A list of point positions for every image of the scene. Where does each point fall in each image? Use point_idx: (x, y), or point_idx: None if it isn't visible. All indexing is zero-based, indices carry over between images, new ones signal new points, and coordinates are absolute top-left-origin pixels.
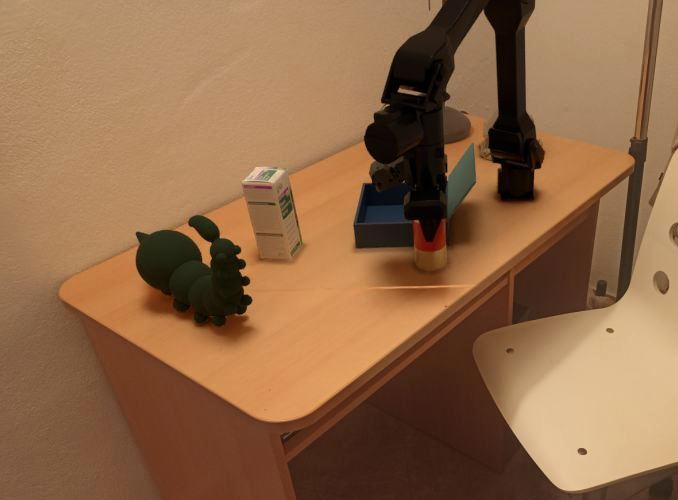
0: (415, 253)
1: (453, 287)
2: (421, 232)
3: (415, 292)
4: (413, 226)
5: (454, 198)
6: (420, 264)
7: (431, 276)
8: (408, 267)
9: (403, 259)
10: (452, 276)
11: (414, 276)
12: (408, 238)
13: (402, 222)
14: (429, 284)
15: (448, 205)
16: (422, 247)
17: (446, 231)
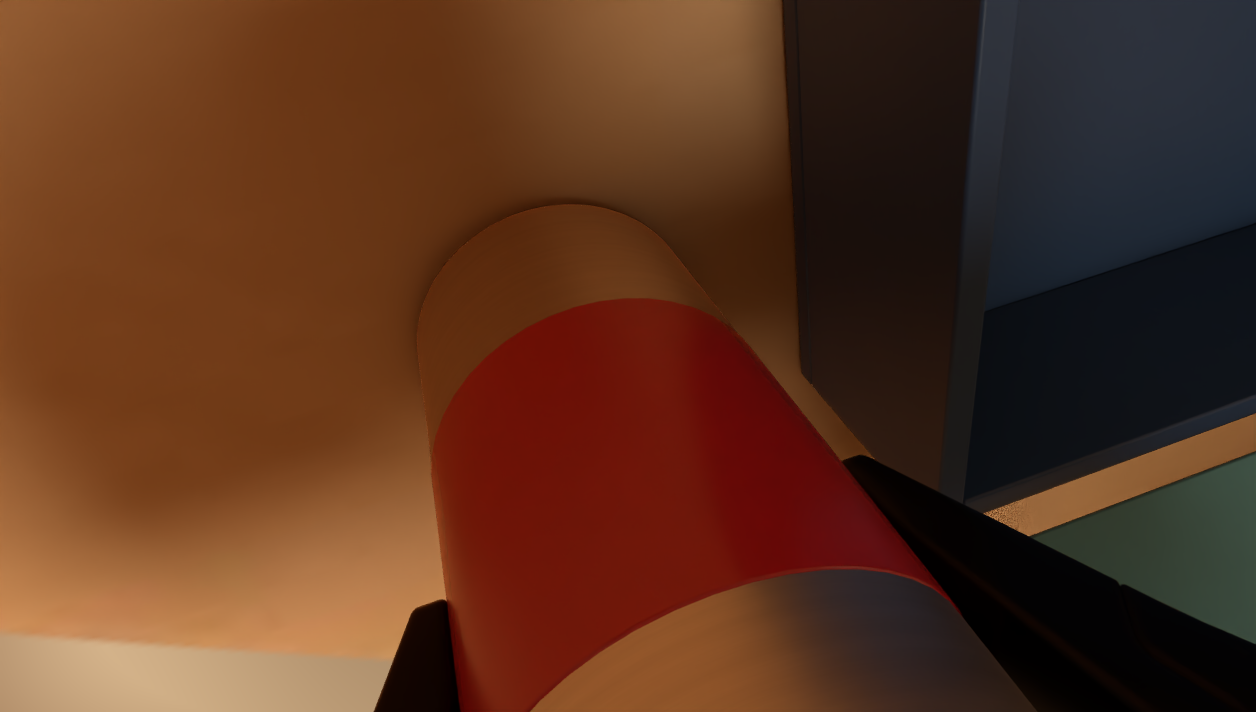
0: (490, 300)
1: (263, 574)
2: (456, 651)
3: (28, 358)
4: (565, 547)
5: (1228, 612)
6: (429, 316)
7: (362, 390)
8: (453, 150)
9: (592, 51)
10: (413, 519)
11: (309, 258)
12: (847, 83)
13: (999, 67)
14: (228, 418)
15: (1187, 494)
16: (435, 481)
17: (881, 450)
